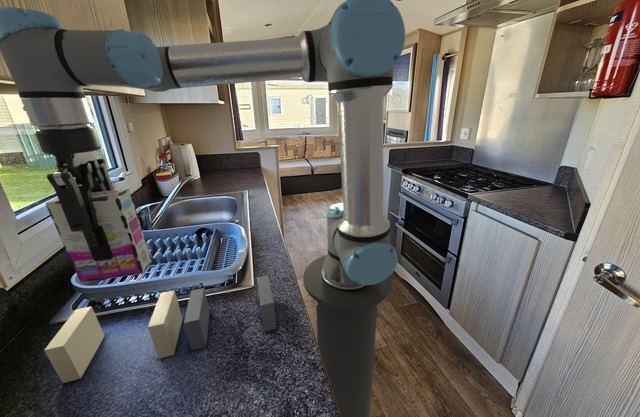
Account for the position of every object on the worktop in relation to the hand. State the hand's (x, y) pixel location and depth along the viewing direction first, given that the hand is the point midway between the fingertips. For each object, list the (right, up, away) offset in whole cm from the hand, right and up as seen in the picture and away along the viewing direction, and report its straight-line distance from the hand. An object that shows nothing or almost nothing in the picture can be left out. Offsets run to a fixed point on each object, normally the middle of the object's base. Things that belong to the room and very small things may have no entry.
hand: (110, 251), depth 51 cm
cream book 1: (-10, -24, +6) cm, 27 cm away
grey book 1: (+12, -21, +12) cm, 27 cm away
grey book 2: (+27, -19, +17) cm, 37 cm away
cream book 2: (+6, -22, +11) cm, 25 cm away
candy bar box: (0, -5, +2) cm, 5 cm away
